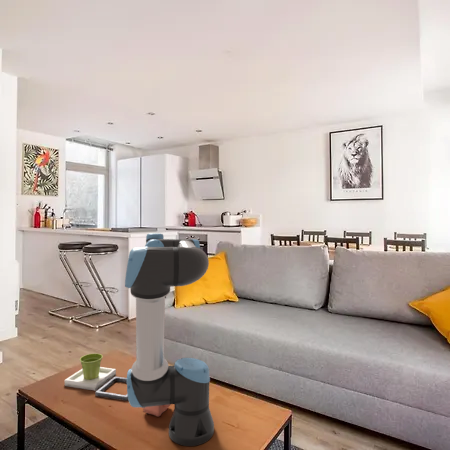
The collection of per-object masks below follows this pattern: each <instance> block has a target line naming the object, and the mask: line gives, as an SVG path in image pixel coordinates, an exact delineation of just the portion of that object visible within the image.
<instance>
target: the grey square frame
mask: <svg viewBox="0 0 450 450" xmlns="http://www.w3.org/2000/svg"><path fill="white" fill-rule="evenodd" d="M115 382H120V383H126V384H127V377H121V376H116V375H115V376H113V377H112V378H111V379H109V380H108V381H107V382H106V383H104V384H103V385H102V386H101V387H99V388H98V389H97V390H96V391H94V392H95V397H99V398H106V399H107V398H108V399H113V400H120V401H124V402H125V401H129V400H128V395H127V394H119V393H113V392H105V391H106V390H107V389H108V388H109V387H111V386H112V385H113V384H114V383H115Z"/></svg>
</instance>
